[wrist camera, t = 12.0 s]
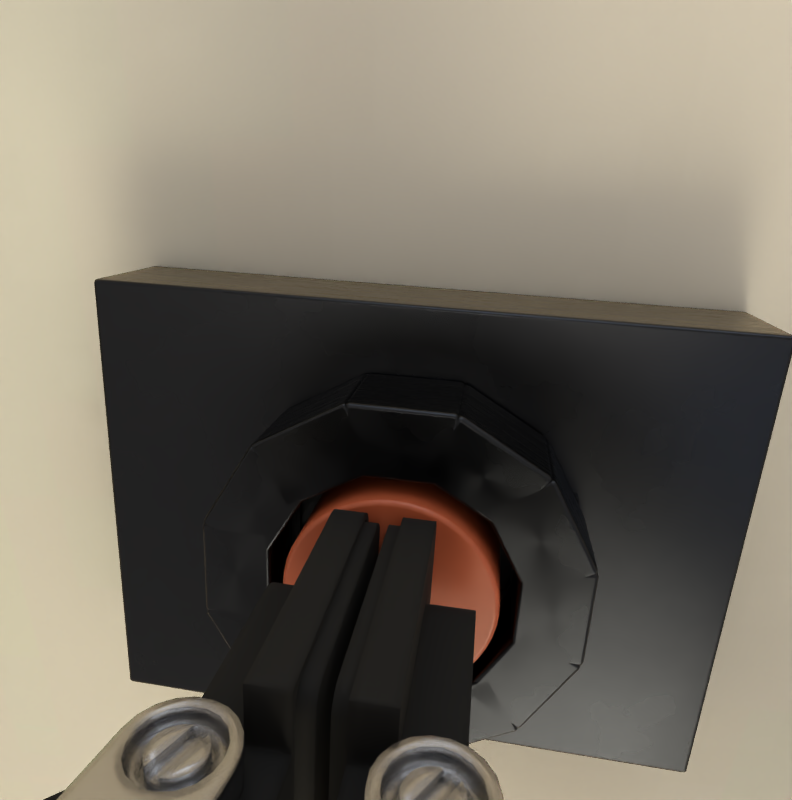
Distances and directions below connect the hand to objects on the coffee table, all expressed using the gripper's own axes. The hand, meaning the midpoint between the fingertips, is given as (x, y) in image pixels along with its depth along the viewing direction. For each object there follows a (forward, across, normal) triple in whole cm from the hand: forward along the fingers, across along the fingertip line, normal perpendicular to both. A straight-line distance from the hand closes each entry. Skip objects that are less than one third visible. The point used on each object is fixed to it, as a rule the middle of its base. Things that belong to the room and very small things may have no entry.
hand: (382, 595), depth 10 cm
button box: (+4, 0, 0) cm, 4 cm away
